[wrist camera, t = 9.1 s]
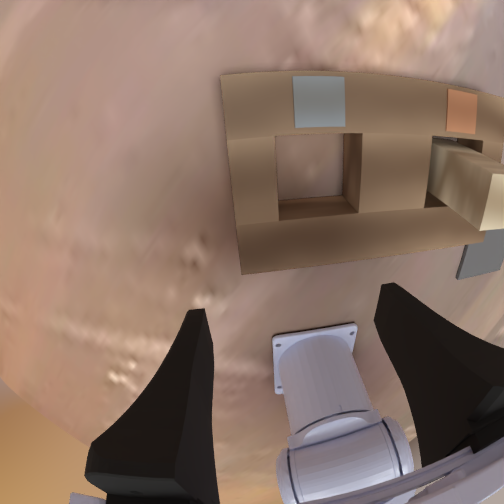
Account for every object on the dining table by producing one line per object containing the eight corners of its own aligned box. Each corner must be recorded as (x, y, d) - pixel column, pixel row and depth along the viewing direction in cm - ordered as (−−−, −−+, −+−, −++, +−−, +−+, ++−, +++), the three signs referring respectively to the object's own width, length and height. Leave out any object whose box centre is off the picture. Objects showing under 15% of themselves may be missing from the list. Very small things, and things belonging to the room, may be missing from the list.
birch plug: (445, 180, 21) (512, 227, 14) (412, 180, 21) (479, 230, 14) (450, 139, 19) (524, 176, 12) (416, 136, 19) (492, 173, 12)
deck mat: (497, 267, 27) (499, 269, 26) (455, 277, 27) (457, 280, 26) (514, 211, 23) (517, 213, 23) (473, 214, 23) (475, 216, 22)
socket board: (463, 225, 23) (483, 242, 21) (238, 250, 23) (241, 275, 20) (481, 92, 17) (507, 99, 14) (220, 76, 16) (219, 75, 14)
